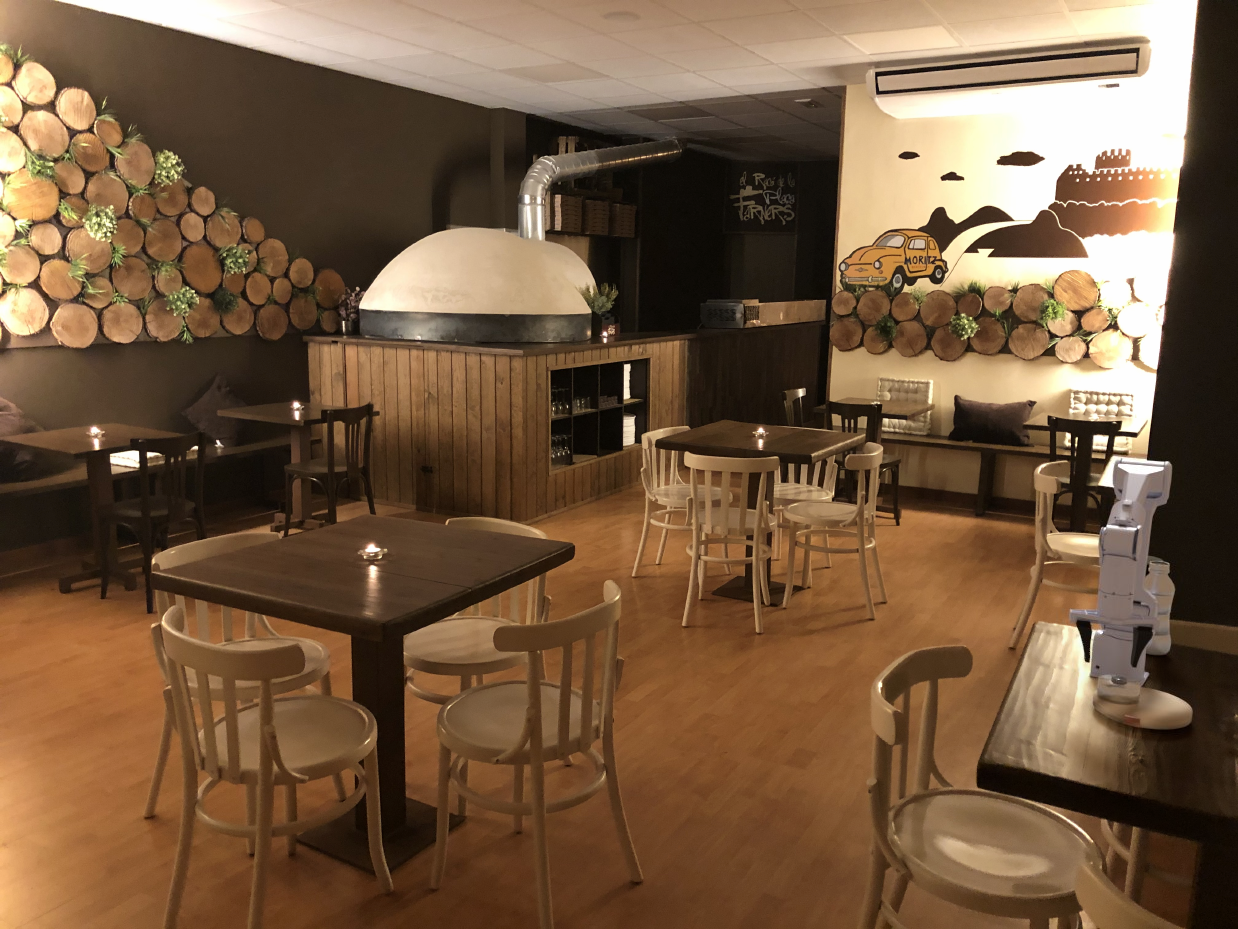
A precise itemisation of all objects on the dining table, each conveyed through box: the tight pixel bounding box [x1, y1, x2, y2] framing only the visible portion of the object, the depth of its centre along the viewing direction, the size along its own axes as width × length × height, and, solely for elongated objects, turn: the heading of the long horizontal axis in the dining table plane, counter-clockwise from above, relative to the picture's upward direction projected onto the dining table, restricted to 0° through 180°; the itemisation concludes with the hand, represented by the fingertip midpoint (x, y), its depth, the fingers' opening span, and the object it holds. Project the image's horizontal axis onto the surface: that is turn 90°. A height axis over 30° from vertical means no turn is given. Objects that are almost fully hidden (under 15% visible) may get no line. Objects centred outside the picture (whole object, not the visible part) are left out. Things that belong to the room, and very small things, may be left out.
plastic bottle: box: [1141, 561, 1176, 656], centre depth 207 cm, size 6×7×20 cm
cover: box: [1096, 675, 1141, 705], centre depth 179 cm, size 7×7×4 cm
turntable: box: [1092, 686, 1194, 730], centre depth 177 cm, size 16×16×2 cm
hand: (1110, 663), depth 177 cm, fingers open, 7 cm apart
